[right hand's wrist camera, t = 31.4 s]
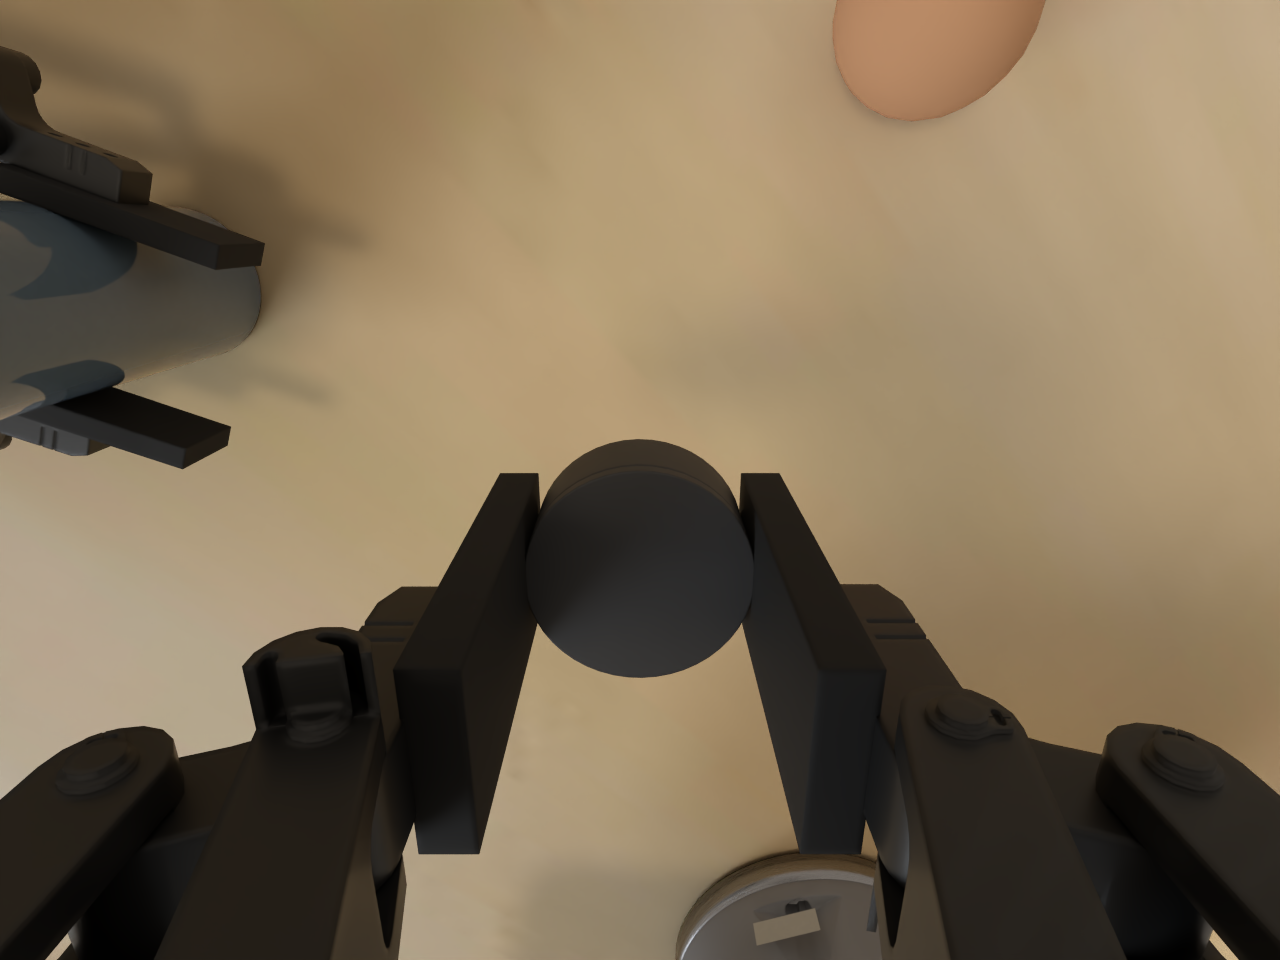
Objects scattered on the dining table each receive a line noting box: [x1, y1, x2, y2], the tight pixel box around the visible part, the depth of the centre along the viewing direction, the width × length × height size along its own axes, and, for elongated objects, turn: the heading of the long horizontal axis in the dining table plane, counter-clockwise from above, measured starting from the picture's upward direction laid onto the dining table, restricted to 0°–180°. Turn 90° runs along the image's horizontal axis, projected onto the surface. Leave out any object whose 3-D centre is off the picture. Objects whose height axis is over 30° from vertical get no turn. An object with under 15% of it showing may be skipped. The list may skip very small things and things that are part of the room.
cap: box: [525, 439, 754, 678], centre depth 13 cm, size 4×4×2 cm
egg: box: [833, 0, 1045, 121], centre depth 22 cm, size 6×6×8 cm
